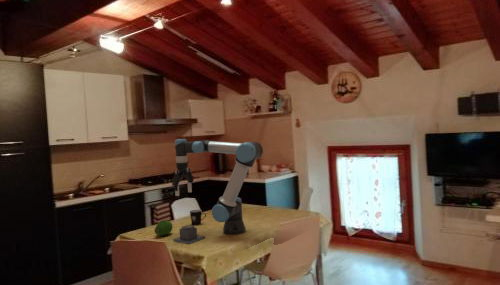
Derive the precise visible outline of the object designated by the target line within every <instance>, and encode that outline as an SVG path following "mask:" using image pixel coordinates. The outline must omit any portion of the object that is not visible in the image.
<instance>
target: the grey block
mask: <svg viewBox="0 0 500 285" xmlns="http://www.w3.org/2000/svg"><path fill="white" fill-rule="evenodd" d="M197 229H198V227H195V225H192V224H185V225H184V226H181V228H179V229H178V230H179V237H180V239H186V240H190V239H192V238H195V237H197V235H198V230H197Z"/></svg>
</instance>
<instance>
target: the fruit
mask: <svg viewBox="0 0 500 285" xmlns="http://www.w3.org/2000/svg"><path fill="white" fill-rule="evenodd" d="M172 230H173V224H172V222H171V221H169V220H167V219H164V220H161V221H159V222H158V223H157V224H156V227H155V228H154V233H155V234H156V235H157V236H167V235H169V234H170V233H171V232H172Z"/></svg>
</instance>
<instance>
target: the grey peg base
mask: <svg viewBox="0 0 500 285" xmlns="http://www.w3.org/2000/svg"><path fill="white" fill-rule="evenodd" d="M205 238H206V236H205V235H202V234H197V237H195V238H192V239H190V240H186V239H180V236H178V237H176V238H173V239H172V240H173V242H174V243H175V242H176V243H181V244H186V245H191V244H193V243H197V242H199V241H202V240H204V239H205Z"/></svg>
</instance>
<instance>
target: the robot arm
mask: <svg viewBox="0 0 500 285" xmlns="http://www.w3.org/2000/svg"><path fill="white" fill-rule="evenodd" d="M174 147H175V148H174V150H175V162H176V165H175V166H176V169H177V170H174V175H173V179H172V184H171V186H173V187H174V193H175V195H174V196H175V197H179V196H180V185H179V184H180V181H181V179H182V178H183V177H184V178H185V179H186V181H187V193H192V192H193V190H192V188H193V185H192V184H193V183H194V178H193V175H192V173H191V168H190V167H189V166H188V165H189V164H188V161H189V160H188V154H199V153H203V152H204V153H218V154H228V155H229V154H230V155H236V156H235V159H234V160H235V161H234V162H236V163H235V165H234V168H233V170H232V173H231V175H230V178H229V180H228V182H227V185H226V188H225V190H224V192H223V195H222V196H220V197H218V200H217V202H216V204H214V205H213V207H212V209H211V215H212V218H213V219H214V221H216V222H218V223H224V224H223V227H222V228H223V230H222V233H223V234H225V235H239V234H243V233H245V232H246V226H245V223H244V220H243V205H242V203H243V202H242V198H241V197H238V196H239V193H240V191H241V189H242V187H243V184H244V181H245V179H246V178H247V177H246V176H247V174H248V172H249V169H250V168H253V167H254V164H255V161H257V160H259V159H260V158H261V157H262V156H263V153H264V148H263V146H262V144H261V143H260V142H259V141H245V142H243V143H241V142H231V141H230V142H229V141H215V140H208V139H207V140H206V139H205V140H195V141H187V139H186V138H177V139H175V140H174ZM188 167H189V168H188Z"/></svg>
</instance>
